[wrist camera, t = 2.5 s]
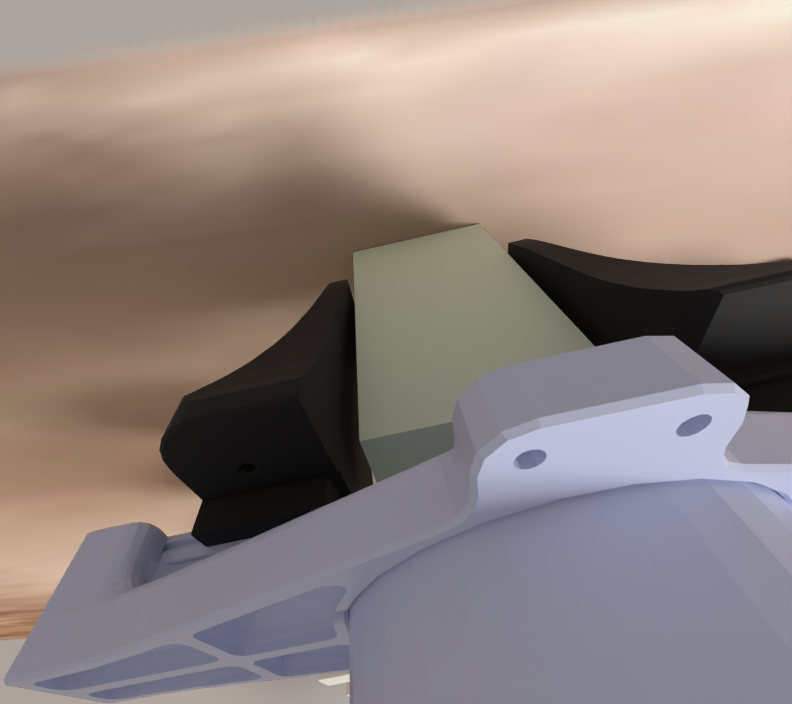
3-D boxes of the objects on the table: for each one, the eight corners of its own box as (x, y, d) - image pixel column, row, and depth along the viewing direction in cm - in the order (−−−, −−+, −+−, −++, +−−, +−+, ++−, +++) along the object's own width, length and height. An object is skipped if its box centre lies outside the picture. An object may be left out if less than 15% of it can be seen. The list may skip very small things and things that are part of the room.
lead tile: (479, 223, 13) (630, 383, 6) (481, 266, 14) (610, 443, 7) (353, 252, 13) (359, 441, 6) (364, 292, 14) (380, 491, 7)
